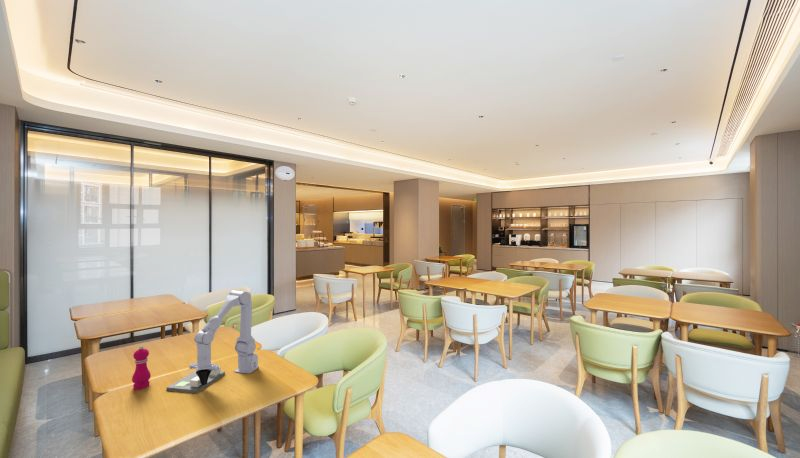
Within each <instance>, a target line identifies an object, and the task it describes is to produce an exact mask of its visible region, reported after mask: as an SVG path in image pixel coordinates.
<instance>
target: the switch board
mask: <svg viewBox="0 0 800 458" xmlns="http://www.w3.org/2000/svg"><path fill="white" fill-rule="evenodd" d="M196 371H198V370H194V371H193V372H190V373H189V374H187V375H186V376H184V377H182V378H180V379H178V380H177V381H175V382H173V383H171V384H170V385H168V386H166V391H168V392H169V391H170V392H178V393H179V392H181V393H187V394H188V393H190V394H197V393H199V392H200V391H202V390H204V389H206V387H208V386H210V385H211V384H213V383H214V382H216V381H218V380H219V379H220V378H222V377H224V376H225V375H226V371H223V370H221V372H220V373H219V374H217V375H216V376H212V375H209V378H208V381H207V384H205V385H200V386H199V387H191V386H190V380H191V379H193V378H195V377H196V376H197V377H198V375H197V374H196Z"/></svg>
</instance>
